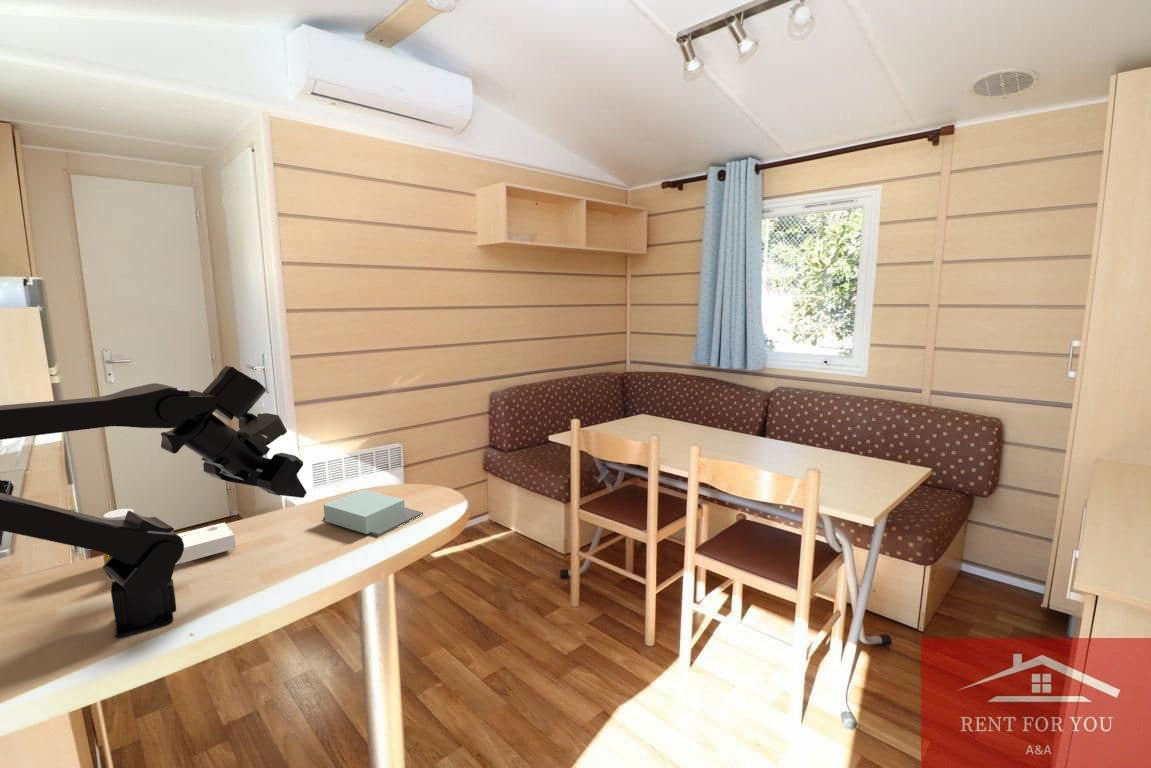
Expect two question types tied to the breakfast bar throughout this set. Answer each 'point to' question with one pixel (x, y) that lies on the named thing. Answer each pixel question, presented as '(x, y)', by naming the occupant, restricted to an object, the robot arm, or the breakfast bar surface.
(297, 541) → the breakfast bar surface
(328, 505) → the grey-green slab
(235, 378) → the robot arm
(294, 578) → the breakfast bar surface
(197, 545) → the white box
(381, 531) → the mat
